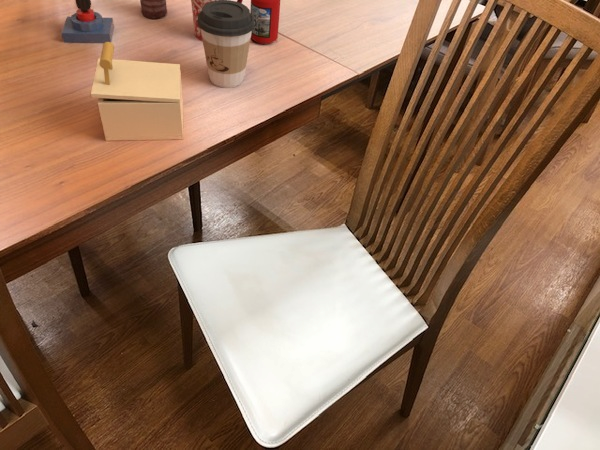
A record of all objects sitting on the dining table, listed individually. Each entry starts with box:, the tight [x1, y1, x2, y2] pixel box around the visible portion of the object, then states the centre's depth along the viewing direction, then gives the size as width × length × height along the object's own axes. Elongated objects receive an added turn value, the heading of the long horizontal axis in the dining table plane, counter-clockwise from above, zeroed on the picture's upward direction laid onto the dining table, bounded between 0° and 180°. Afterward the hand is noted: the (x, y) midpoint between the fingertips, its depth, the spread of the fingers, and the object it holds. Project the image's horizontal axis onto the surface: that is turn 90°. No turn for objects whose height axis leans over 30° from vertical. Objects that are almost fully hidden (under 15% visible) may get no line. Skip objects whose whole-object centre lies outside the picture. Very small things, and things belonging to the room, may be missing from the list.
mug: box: [190, 0, 244, 42], centre depth 117 cm, size 13×9×14 cm
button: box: [75, 8, 95, 22], centre depth 113 cm, size 4×4×2 cm
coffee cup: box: [197, 0, 255, 89], centre depth 103 cm, size 11×11×15 cm
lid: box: [90, 41, 181, 103], centre depth 88 cm, size 14×12×6 cm
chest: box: [97, 72, 184, 142], centre depth 93 cm, size 14×12×8 cm
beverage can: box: [250, 0, 281, 45], centre depth 118 cm, size 7×7×12 cm
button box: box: [61, 11, 115, 44], centre depth 115 cm, size 10×8×4 cm
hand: (85, 9), depth 112 cm, fingers closed
